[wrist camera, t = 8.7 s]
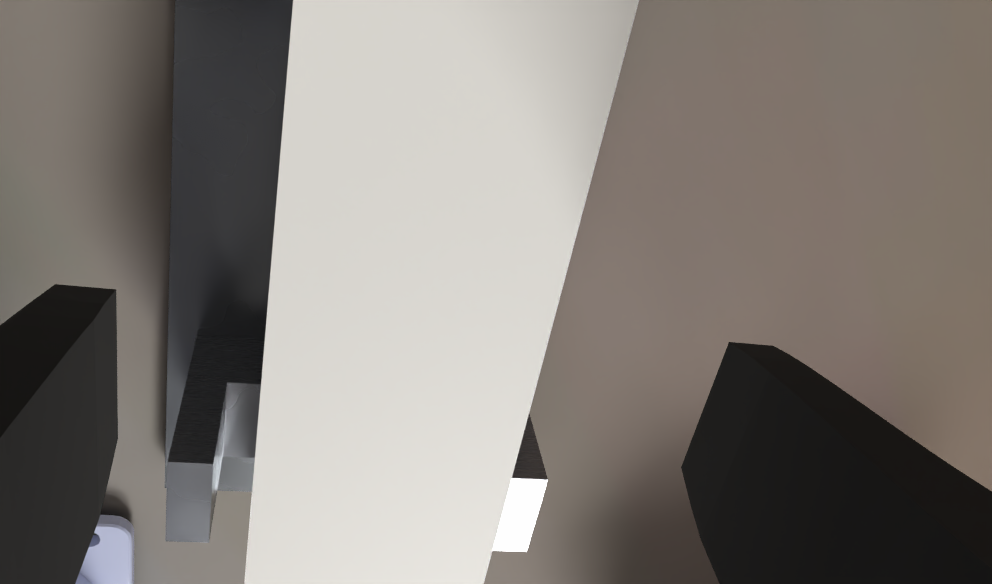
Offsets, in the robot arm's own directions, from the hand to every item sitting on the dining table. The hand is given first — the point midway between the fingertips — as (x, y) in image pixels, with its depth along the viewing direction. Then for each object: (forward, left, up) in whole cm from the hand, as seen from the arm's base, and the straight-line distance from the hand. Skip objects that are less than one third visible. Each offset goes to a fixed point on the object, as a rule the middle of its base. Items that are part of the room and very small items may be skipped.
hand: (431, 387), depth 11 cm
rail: (0, 0, -7) cm, 7 cm away
